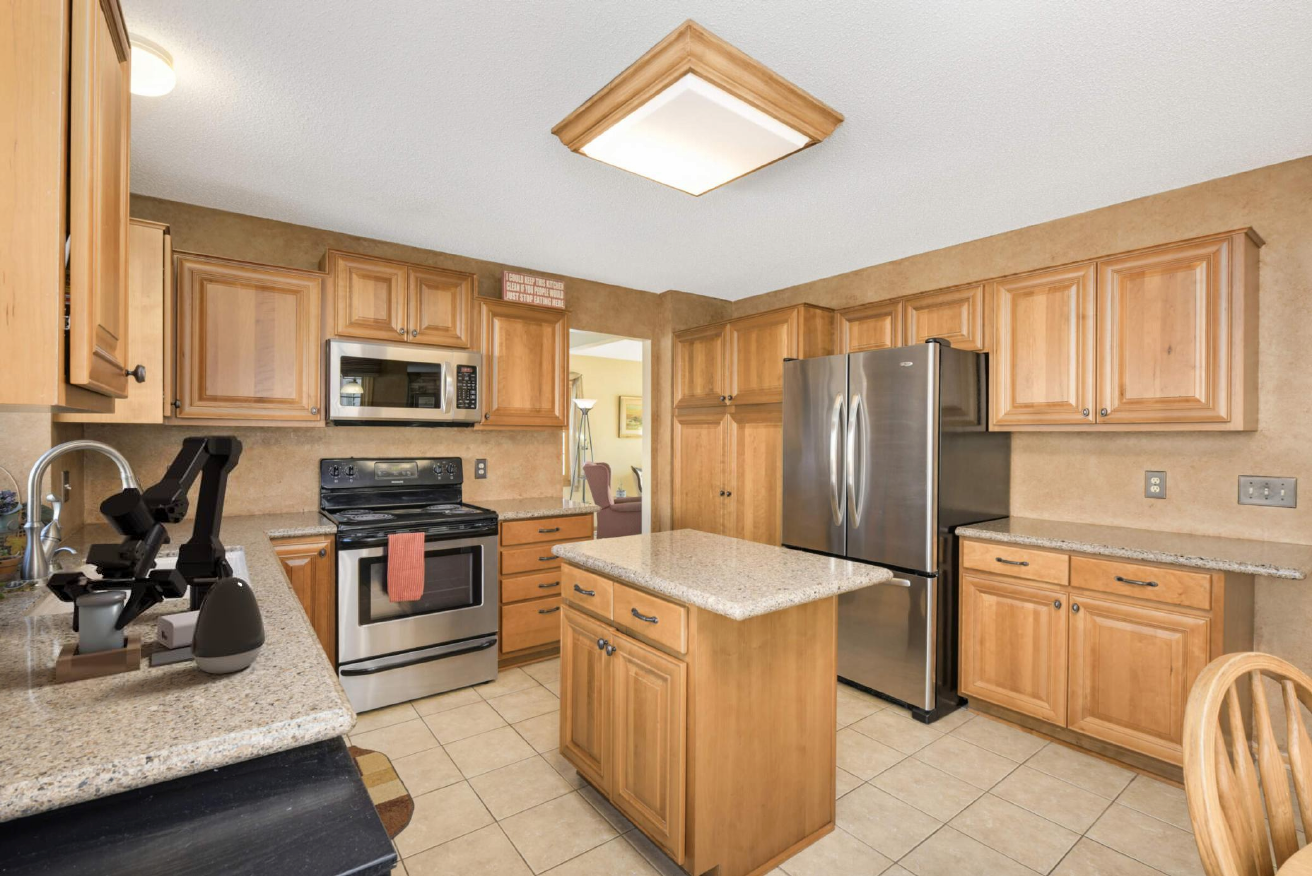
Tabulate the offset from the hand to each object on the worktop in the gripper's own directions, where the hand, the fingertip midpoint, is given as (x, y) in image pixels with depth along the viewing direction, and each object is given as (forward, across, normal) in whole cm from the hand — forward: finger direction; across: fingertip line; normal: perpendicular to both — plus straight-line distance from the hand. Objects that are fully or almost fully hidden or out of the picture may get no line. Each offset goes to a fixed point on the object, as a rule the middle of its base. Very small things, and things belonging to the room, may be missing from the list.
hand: (96, 630), depth 101 cm
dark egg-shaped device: (+7, +21, +3) cm, 22 cm away
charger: (-6, +10, +16) cm, 20 cm away
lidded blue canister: (+4, 0, +6) cm, 7 cm away
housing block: (+4, 0, +6) cm, 7 cm away
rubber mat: (+1, +10, +8) cm, 13 cm away
